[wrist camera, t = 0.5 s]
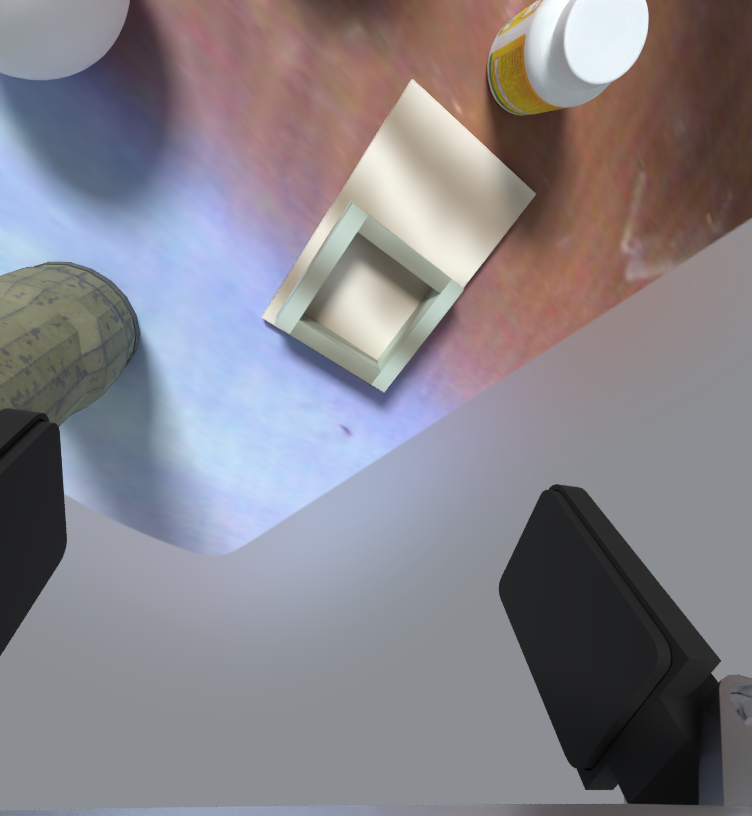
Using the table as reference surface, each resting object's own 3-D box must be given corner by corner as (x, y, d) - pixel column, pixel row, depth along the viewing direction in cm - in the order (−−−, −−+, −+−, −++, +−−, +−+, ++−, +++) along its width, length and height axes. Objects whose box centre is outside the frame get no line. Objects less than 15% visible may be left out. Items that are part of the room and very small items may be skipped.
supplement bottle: (509, -5, 28) (591, -75, 20) (583, 37, 30) (689, -12, 21) (470, 96, 31) (529, 71, 22) (541, 130, 32) (621, 120, 23)
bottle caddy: (410, 80, 30) (419, 72, 27) (531, 193, 34) (551, 196, 31) (262, 314, 35) (258, 327, 33) (381, 388, 39) (386, 405, 36)
